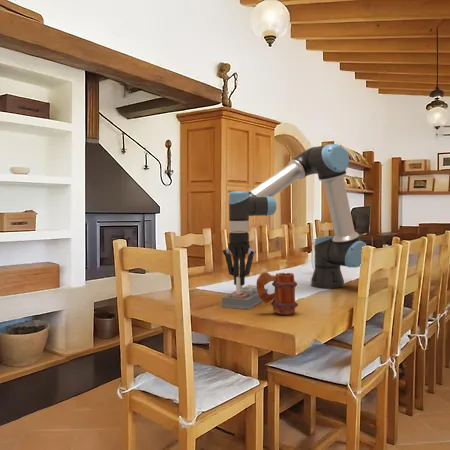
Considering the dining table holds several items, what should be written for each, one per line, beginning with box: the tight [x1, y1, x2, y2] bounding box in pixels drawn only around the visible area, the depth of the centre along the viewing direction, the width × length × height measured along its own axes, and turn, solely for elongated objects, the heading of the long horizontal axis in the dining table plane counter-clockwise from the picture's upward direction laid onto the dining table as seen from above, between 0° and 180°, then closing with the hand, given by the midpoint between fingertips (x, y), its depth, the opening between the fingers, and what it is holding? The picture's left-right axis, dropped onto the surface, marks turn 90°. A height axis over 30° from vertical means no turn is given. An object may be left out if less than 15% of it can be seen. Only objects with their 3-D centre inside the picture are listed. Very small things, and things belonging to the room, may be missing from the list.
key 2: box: [242, 287, 254, 295], centre depth 181 cm, size 5×5×3 cm
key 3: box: [231, 293, 248, 299], centre depth 175 cm, size 5×5×3 cm
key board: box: [221, 286, 268, 310], centre depth 181 cm, size 11×22×4 cm, turn 156°
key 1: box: [243, 284, 258, 292], centre depth 186 cm, size 5×5×3 cm
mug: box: [255, 271, 299, 316], centre depth 162 cm, size 15×8×15 cm, turn 92°
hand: (239, 293), depth 175 cm, fingers closed
